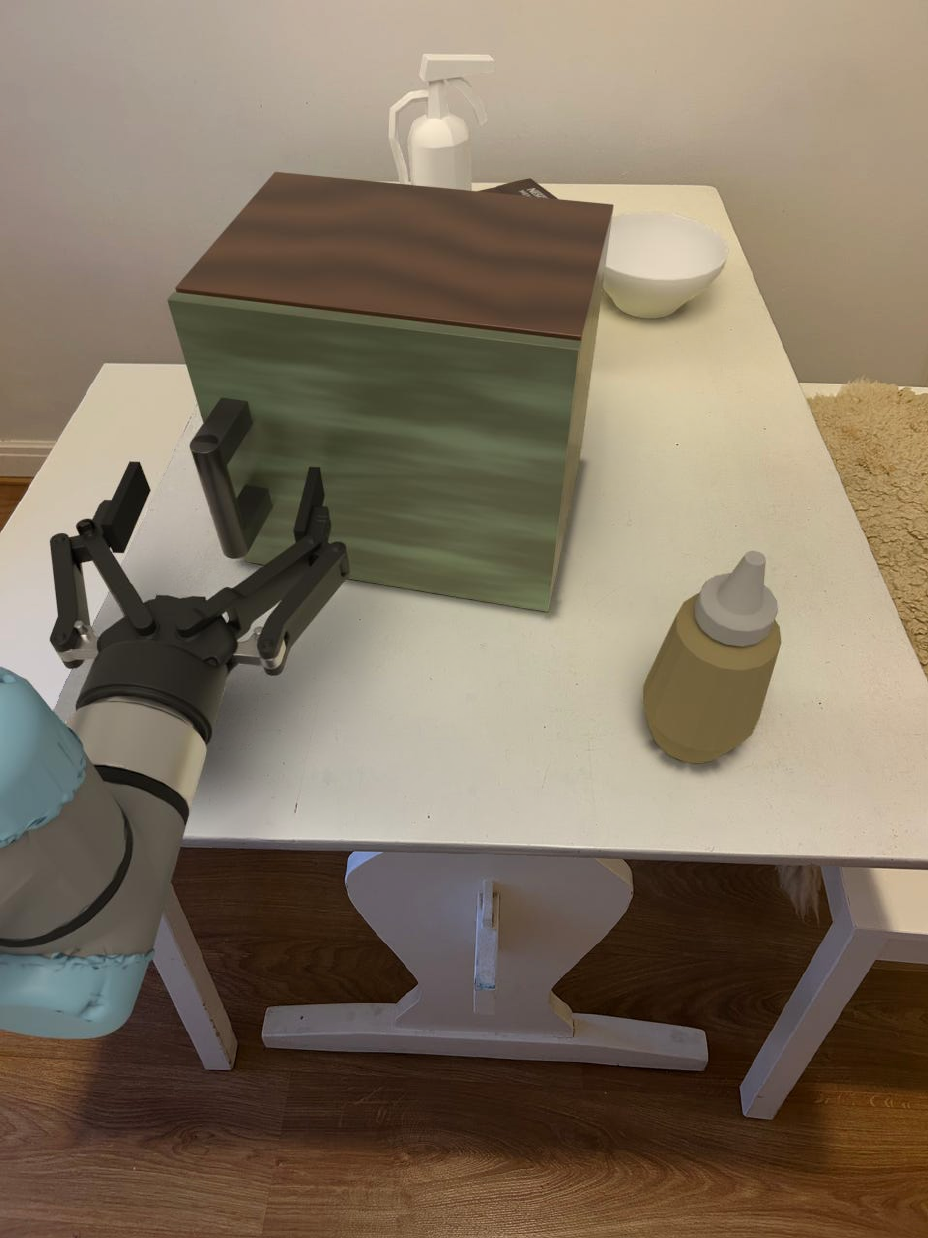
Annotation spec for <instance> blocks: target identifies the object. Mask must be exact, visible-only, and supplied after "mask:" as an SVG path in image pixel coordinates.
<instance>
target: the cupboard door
mask: <svg viewBox="0 0 928 1238" xmlns="http://www.w3.org/2000/svg"><path fill="white" fill-rule="evenodd" d="M166 301H167V305H168V308H169V310H170V315H171V318H172V321H173V325H174V329H175V332H176V335H177V338H178V341H179V346H180V349H181V353H182V355H183V358H184V362H185V366H186V369H187V373H188V376H189V379H190V383H191V386H192V389H193V393H194V396H195V400H196V403H197V406H198V409H199V414H200V417H201V420H202V425H200V427H199V429H198V430H197V432H196V433H195V435H194V436H193V438H191V440H190V442H189V450H190V453H191V456H192V460H193V462H194V465H195V469H196V472H197V475H198V478H199V481H200V485H201V488H202V491H203V494H204V498H205V500H206V504H207V507H208V510H209V512H210V516H211V519H212V522H213V525H214V528H215V531H216V535H217V538H218V541H219V544H220V548H221V550H222V554H223V555H224V557H226V558H228V559H230V560H239V559H241V558H242V559H243V562H246V563H252V564H258V565H263V566H264V565H266V564H267V563H268V562H270V561H271V560H273V559H274V558H275V557H277V556H278V555H279V554H281V553H282V552H284V551H285V550H286V549H288V548H289V547H291V546H292V545H293V544H295V543H296V541H295V537H294V532H293V529H294V525H295V522H296V518H297V514H298V510H299V506H300V502H301V498H302V494H303V490H304V486H305V482H306V478H307V474H308V470H309V467H320V471H321V477H322V483H323V488H324V494H325V497H324V501H323V506H327V507H328V510H329V515H330V521H331V531H330V535H329V540H328V543H330V544H331V543H333V542H338V541H339V542H343V543H344V544H345V545H346V549H347V555H348V562H349V568H350V575H349V576H348V578H347V579H346V580H353V581H359V582H365V583H371V584H372V583H373V584H378V585H383V586H384V585H385V586H390V587H395V588H396V587H397V588H403V589H407V590H414V591H420V592H425V593H432V594H436V595H437V594H438V595H444V596H450V597H456V598H461V599H468V600H474V601H480V602H485V603H491V604H498V605H503V606H510V607H514V608H522V609H527V610H534V611H539V612H540V611H541V612H546V613H548V612H549V611H550V606H551V601H552V597H551V591H552V583H553V574H554V566H555V557H556V549H557V540H558V532H559V523H560V515H561V507H562V498H563V490H564V481H565V473H566V464H567V456H568V447H569V439H570V430H571V422H572V413H573V405H574V396H575V388H576V380H577V371H578V363H579V354H580V346H581V341H577V340H569V339H560V338H552V337H544V336H535V335H527V334H519V333H511V332H502V331H494V330H486V329H477V328H469V327H461V326H452V325H444V324H436V323H427V322H419V321H411V320H402V319H394V318H386V317H377V316H369V315H361V314H353V313H344V312H336V311H328V310H319V309H311V308H303V307H294V306H286V305H278V304H269V303H261V302H253V301H244V300H236V299H228V298H220V297H211V296H203V295H195V294H186V293H178V292H176V291H173V292H172V293H171V294H170V295H169V297H168V298H167V299H166ZM550 600H551V601H550Z"/></svg>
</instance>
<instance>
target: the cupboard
mask: <svg viewBox="0 0 928 1238" xmlns="http://www.w3.org/2000/svg"><path fill="white" fill-rule="evenodd" d="M479 191H480V190H472V191H469V190H459V189H448V188H438V187H428V186H417V185H411V184H409V185H407V184H400V183H396V182H386V181H375V180H364V179H355V178H343V177H334V176H323V175H314V174H313V175H312V174H301V173H294V172H293V173H292V172H284V171H283V172H281V171H274V172H273V173H272V175H270V177H269V178H268V179H267V180H266V181H265V183H263V185H262V186H261V187H260V189H258V191H257V192H256V193H255V194H254V195H253V197H252V198H251V199H250V200H249V201H248V202H247V204H245V206H244V207H243V208H242V209H241V211H239V212H238V214H237V215H236V216H235V217H234V218H233V220H232V221H231V222H230V223H229V224H228V225H227V226H226V228H224V230H223V231H222V233H221V234H219V236H218V237H217V238H216V239H215V241H214V242H213V243H212V244H211V245H210V246H209V247H208V249H207V250H206V251H205V252H204V254H202V255H201V256H200V258H199V259H198V260H197V261H196V262H195V264H194V265H193V266H192V267H191V268H190V269H189V270H188V272H187V273H186V274H185V275H184V277H182V279H181V280H180V281H179V282H178V284H177V285H176V286H175V287H174V289H175V292H178V293H186V294H195V295H203V296H211V297H220V298H228V299H236V300H244V301H253V302H261V303H269V304H278V305H286V306H294V307H303V308H311V309H319V310H328V311H336V312H344V313H353V314H361V315H369V316H377V317H386V318H394V319H402V320H411V321H419V322H427V323H436V324H444V325H452V326H461V327H469V328H477V329H486V330H494V331H502V332H511V333H519V334H527V335H535V336H544V337H552V338H560V339H569V340H577V341H581V346H580V354H579V363H578V371H577V380H576V388H575V396H574V405H573V413H572V422H571V430H570V439H569V447H568V456H567V464H566V473H565V481H564V490H563V498H562V507H561V515H560V523H559V532H558V540H557V549H556V557H555V566H554V574H553V583H552V591H551V598H552V597H553V592H554V588H555V587H554V586H555V582H556V578H557V577H556V576H557V574H558V573H557V572H558V568H559V562H560V559H561V553H562V549H563V544H564V539H565V536H566V535H565V534H566V531H567V524H568V520H569V516H570V512H571V511H570V510H571V505H572V500H573V497H574V496H573V495H574V491H575V486H576V480H577V476H578V472H579V467H580V461H581V453H582V447H583V440H584V432H585V425H586V424H585V423H586V416H587V408H588V401H589V393H590V386H591V379H592V371H593V363H594V356H595V349H596V342H597V341H596V340H597V335H598V334H597V333H598V327H599V318H600V311H601V303H602V298H603V297H602V296H603V290H604V288H603V282H604V274H605V267H606V259H607V252H608V244H609V237H610V229H611V221H612V216H613V213H614V204H612V203H604V202H603V203H601V202H593V201H592V202H591V201H581V200H571V199H563V198H561V199H560V198H558V199H552V198H541V197H531V196H521V195H510V194H500V193H490V192H479ZM551 601H552V599H551V600H550V602H551Z"/></svg>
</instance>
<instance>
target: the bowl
mask: <svg viewBox="0 0 928 1238" xmlns="http://www.w3.org/2000/svg"><path fill="white" fill-rule="evenodd" d="M729 252H730V250H729V246H728V243H727V240H726V239H725V238H724V237H723V236H722V235H721V233H720V232H719V231H717V230H715V229H714V228H713V227H711V226H710V225H708V224H705V223H703V222H702V221H700V220H697V219H694V218H691V217H687V216H684V215H679V214H675V213H668V212H661V211H635V212H624V213H621V214H616V215H612V221H611V229H610V237H609V244H608V252H607V259H606V267H605V274H604V282H603V290H604V291H605V292H606V293H607V294H608V296H609V297H610V298H611V299H612V302H613V304H614V305H615V307H616V308H618V310H620V311H621V312H623V313H624V314H625V315H626V314H627V315H629V316H632V317H635V318H639V319H649V320H651V319H652V320H653V319H662V318H665V317H668V316H670V315H671V314H674V313H675V312H676V311H677V310H678V309H679V308H680V307H682V306H684V304H686V303H687V302H689V301H691V300H692V299H693V298H695V297H697V296H699V295H700V294H701V293H703V292H704V291H706V289H708V287H709V286H710V285H711V284H713V282H715V280H716V279H717V278H718V277H719V276H720V274H721V272H722V271H723V270H724V268H725V265H726V262H727V260H728V256H729Z"/></svg>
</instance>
